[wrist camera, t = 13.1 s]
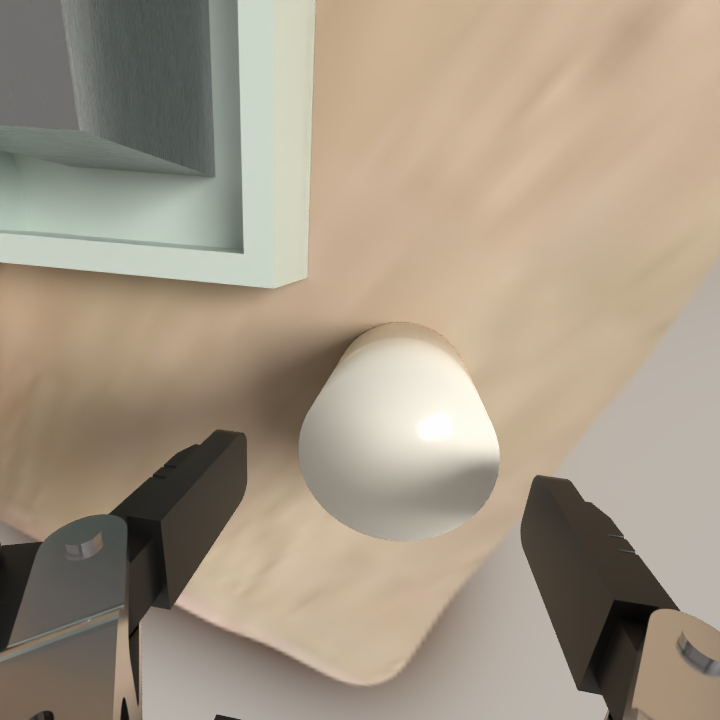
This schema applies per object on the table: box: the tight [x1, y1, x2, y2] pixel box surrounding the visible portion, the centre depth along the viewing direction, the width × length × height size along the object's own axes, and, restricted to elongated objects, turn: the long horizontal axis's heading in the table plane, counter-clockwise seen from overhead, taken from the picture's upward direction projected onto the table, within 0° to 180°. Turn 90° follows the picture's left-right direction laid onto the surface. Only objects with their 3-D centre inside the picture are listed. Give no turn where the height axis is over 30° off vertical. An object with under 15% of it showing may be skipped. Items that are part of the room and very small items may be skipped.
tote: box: [0, 0, 315, 289], centre depth 12 cm, size 13×13×4 cm
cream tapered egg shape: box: [298, 322, 500, 541], centre depth 14 cm, size 6×6×6 cm
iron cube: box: [0, 0, 215, 177], centre depth 10 cm, size 6×6×6 cm
